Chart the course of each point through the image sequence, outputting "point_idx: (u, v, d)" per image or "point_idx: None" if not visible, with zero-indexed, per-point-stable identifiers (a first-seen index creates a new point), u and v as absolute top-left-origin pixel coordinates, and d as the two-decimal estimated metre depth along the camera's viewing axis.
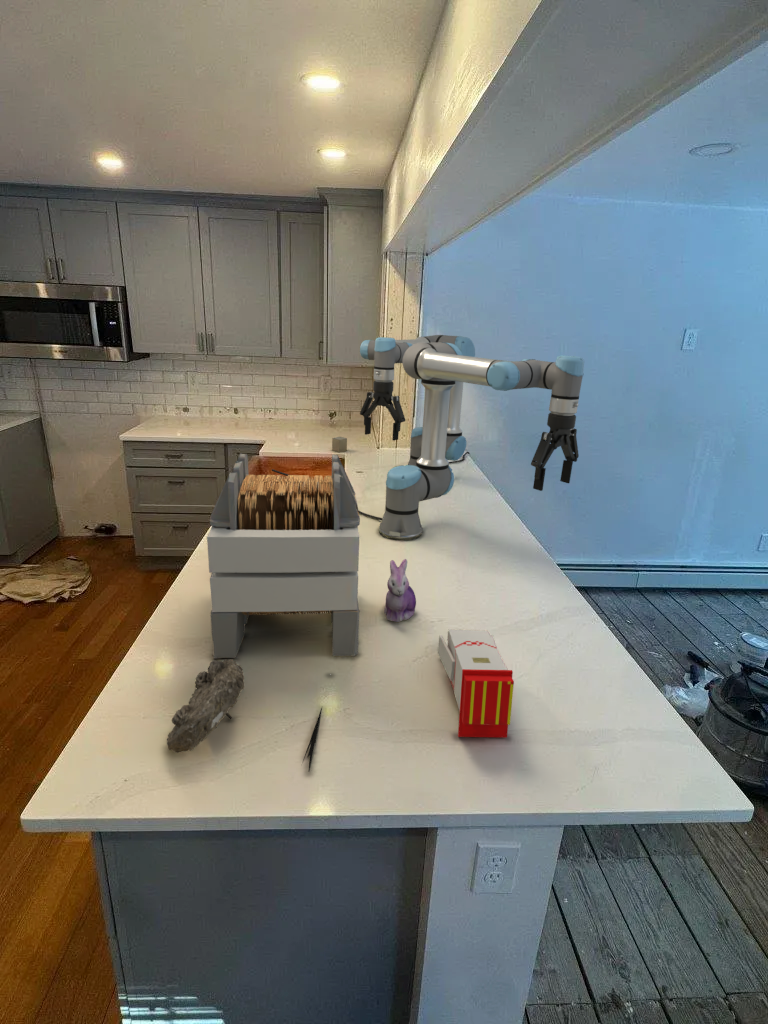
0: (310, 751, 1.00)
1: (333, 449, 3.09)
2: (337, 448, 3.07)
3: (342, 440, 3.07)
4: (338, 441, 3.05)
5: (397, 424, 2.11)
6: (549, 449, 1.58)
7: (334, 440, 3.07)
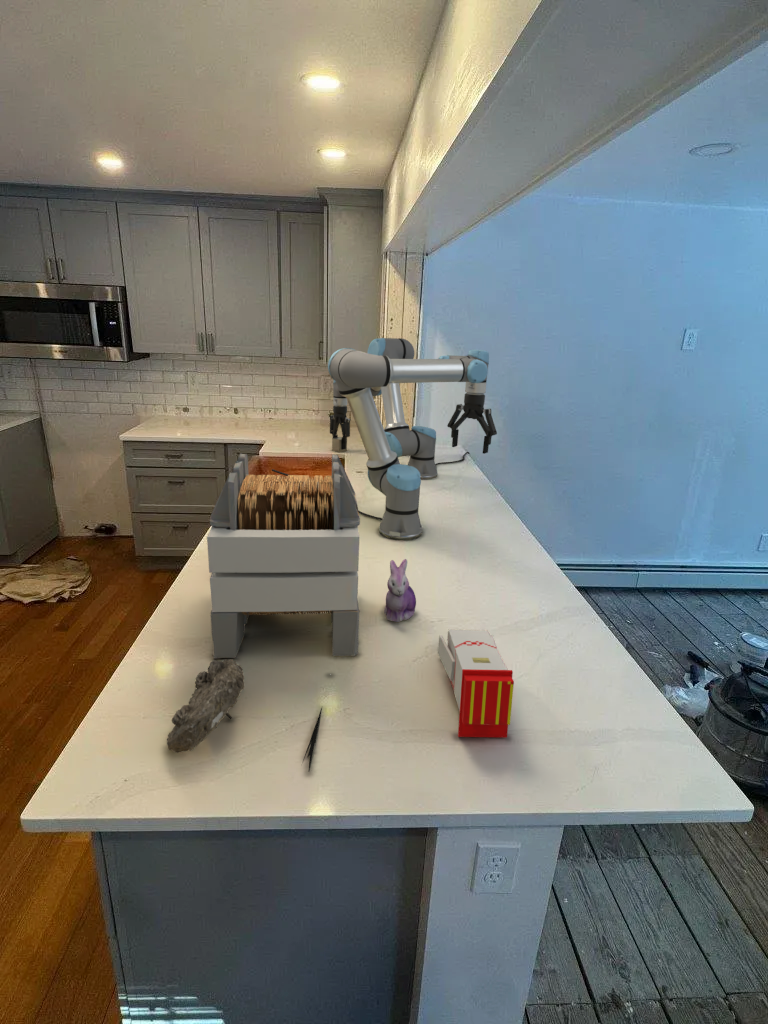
0: (310, 751, 1.00)
1: (333, 449, 3.09)
2: (337, 448, 3.07)
3: None
4: (338, 441, 3.05)
5: (344, 438, 3.05)
6: None
7: (334, 440, 3.07)
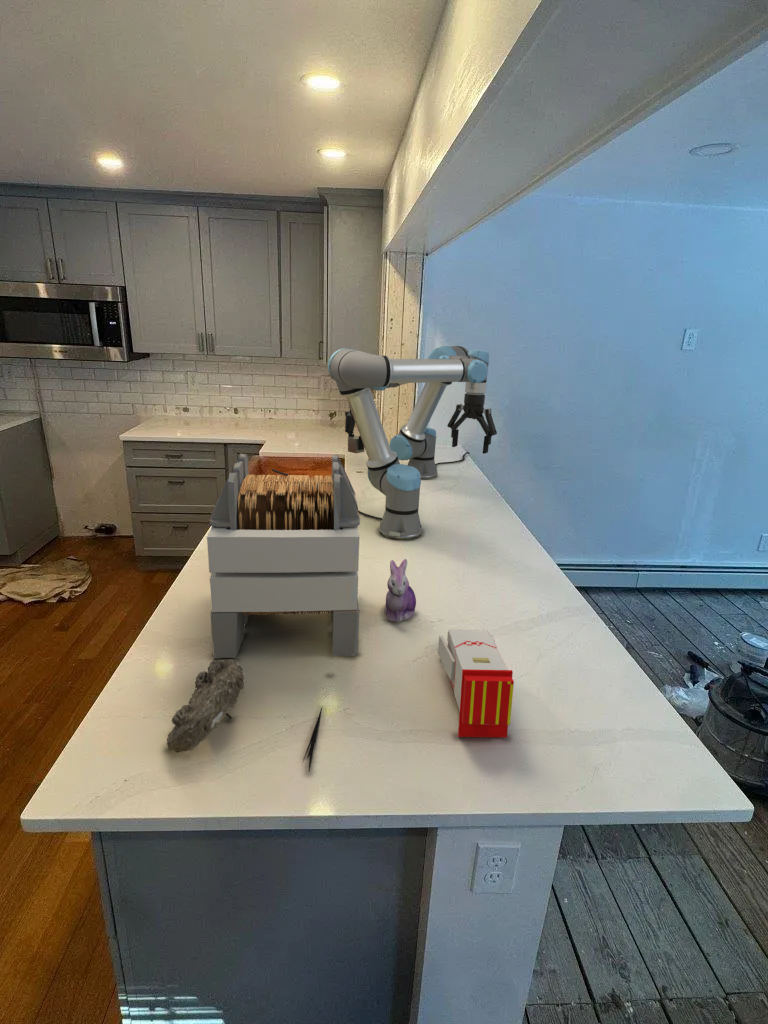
0: (310, 751, 1.00)
1: (349, 450, 2.73)
2: (354, 449, 2.71)
3: None
4: (355, 441, 2.70)
5: None
6: None
7: (350, 440, 2.71)
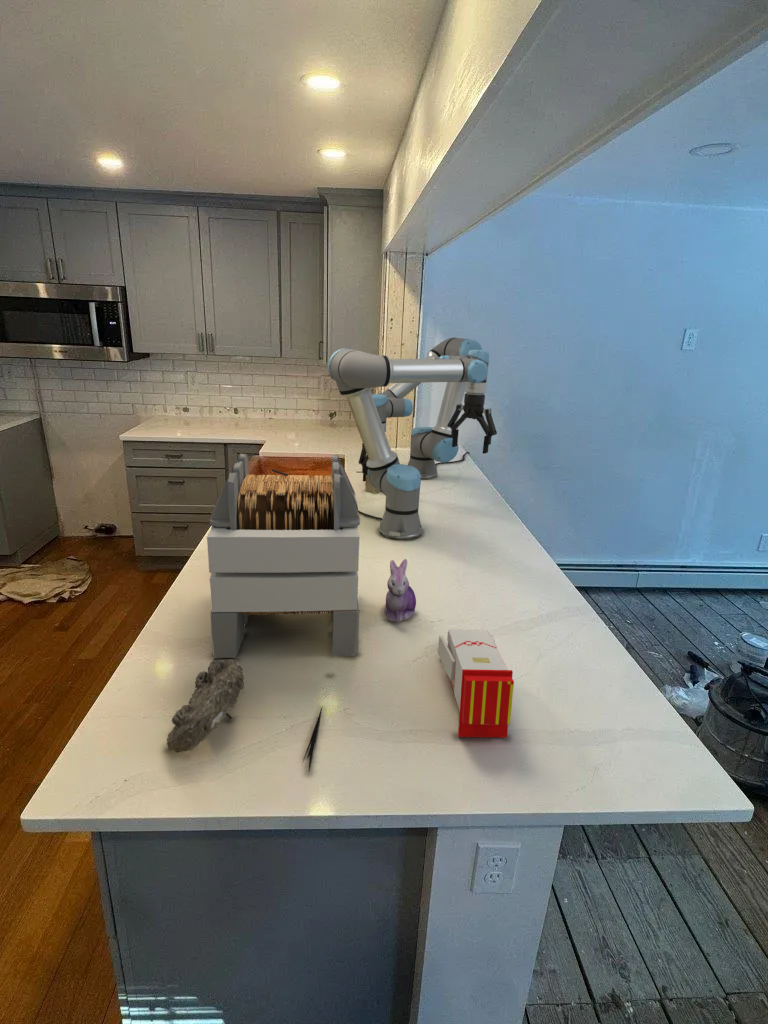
0: (310, 751, 1.00)
1: (367, 489, 2.44)
2: (373, 489, 2.42)
3: None
4: None
5: None
6: None
7: (368, 478, 2.42)
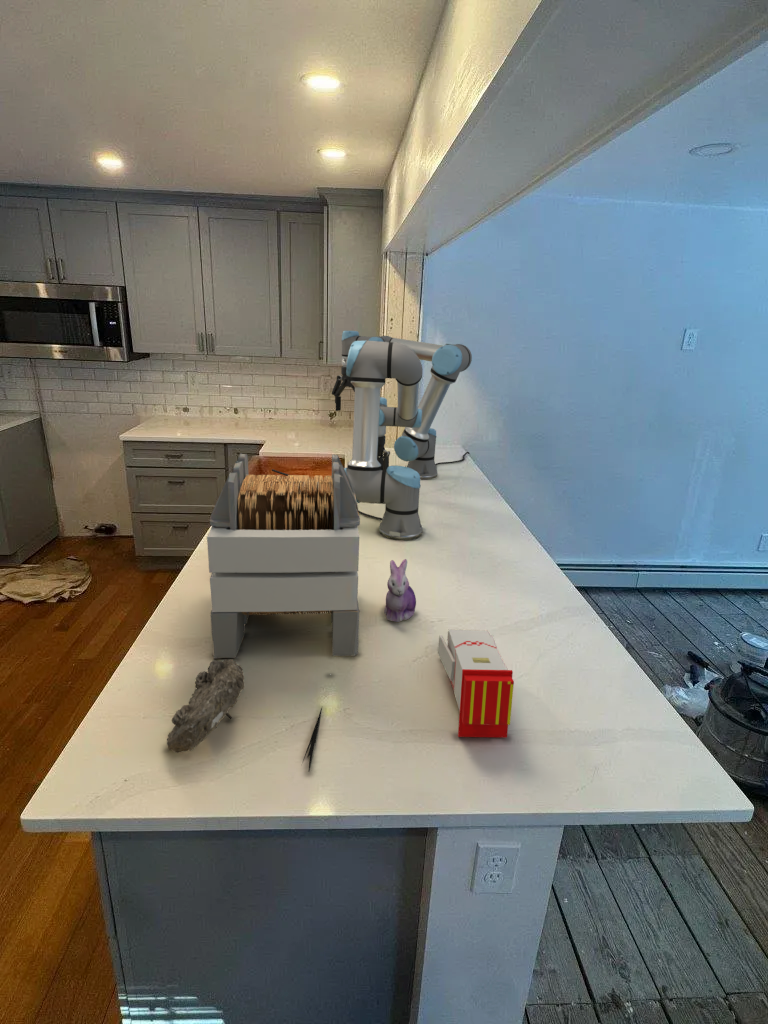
0: (310, 751, 1.00)
1: None
2: None
3: None
4: None
5: None
6: None
7: None
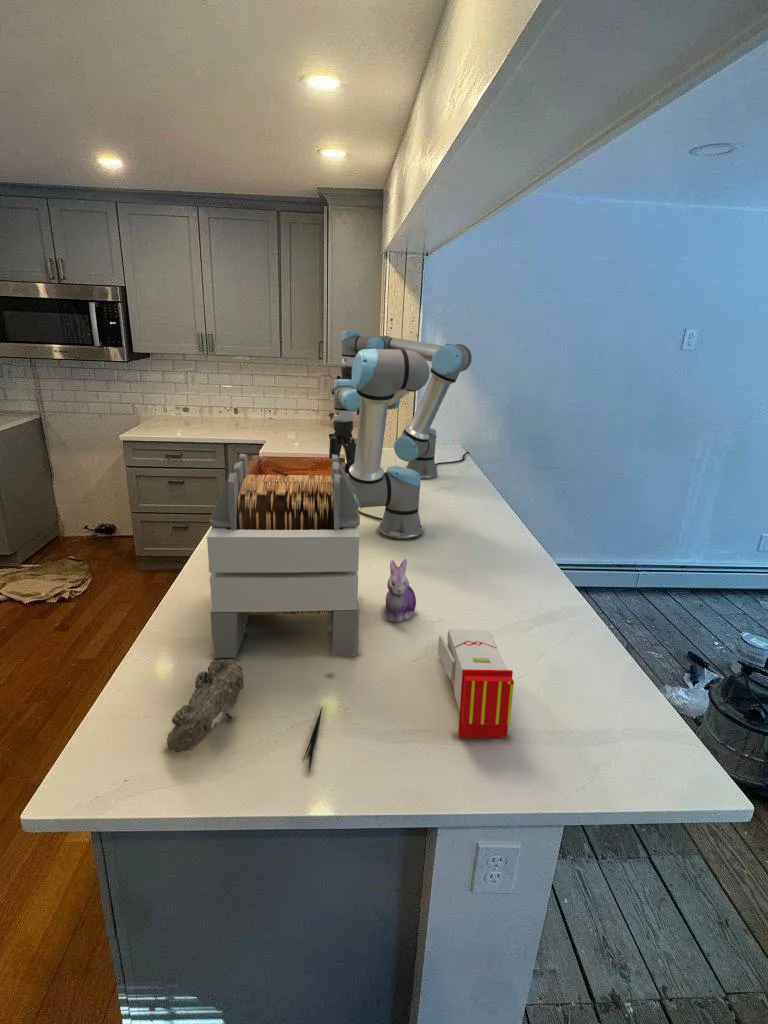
0: (310, 751, 1.00)
1: None
2: None
3: None
4: None
5: None
6: None
7: None
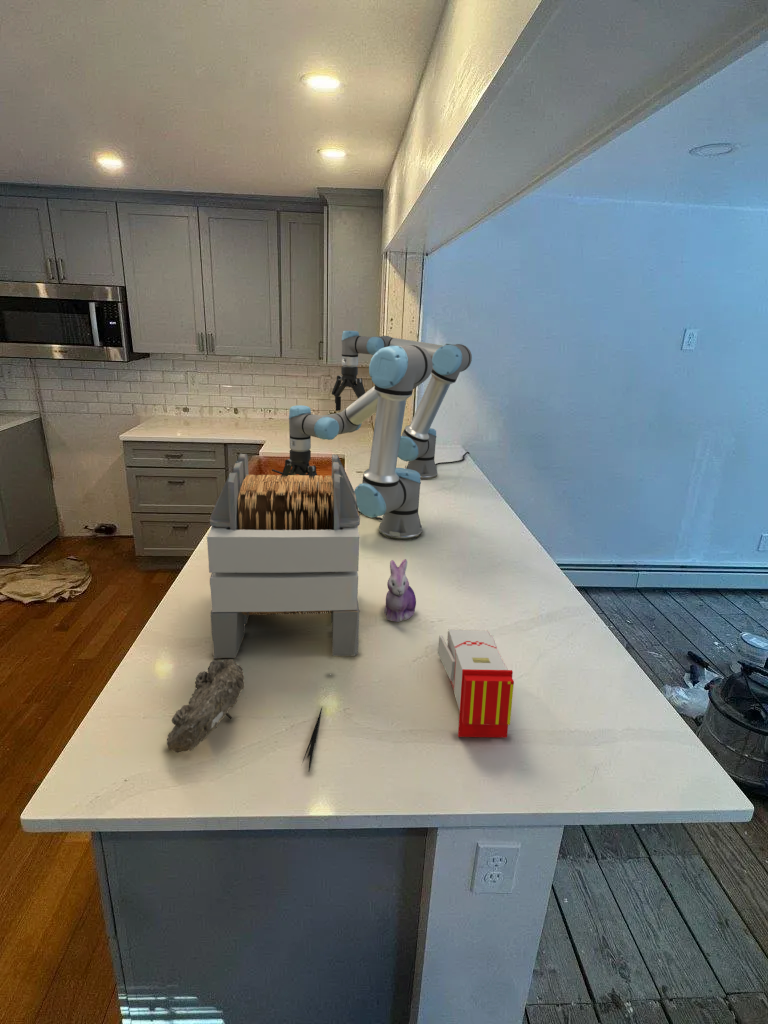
0: (310, 751, 1.00)
1: None
2: None
3: None
4: None
5: None
6: None
7: None
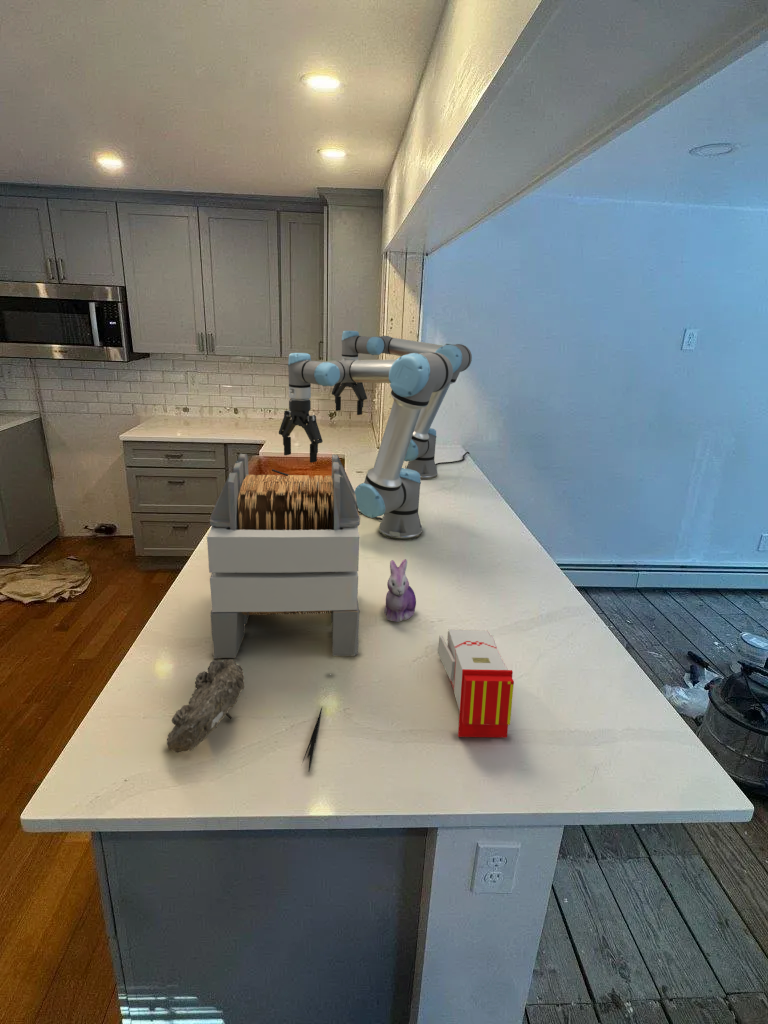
0: (310, 751, 1.00)
1: None
2: None
3: None
4: None
5: (360, 401, 2.59)
6: None
7: None
